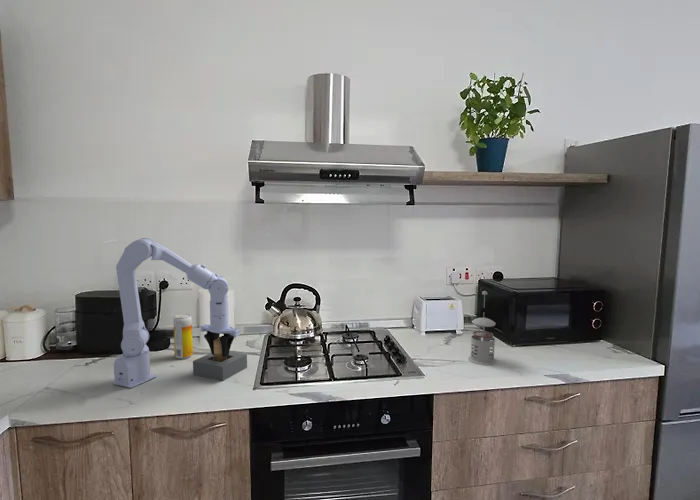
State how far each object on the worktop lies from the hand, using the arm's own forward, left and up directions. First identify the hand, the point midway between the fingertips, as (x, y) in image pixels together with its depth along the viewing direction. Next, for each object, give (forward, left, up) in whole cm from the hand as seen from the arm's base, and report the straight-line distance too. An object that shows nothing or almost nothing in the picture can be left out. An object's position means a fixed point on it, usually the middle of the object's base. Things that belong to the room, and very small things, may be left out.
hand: (220, 354), depth 134 cm
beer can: (+5, +21, -6) cm, 22 cm away
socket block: (0, 0, -5) cm, 5 cm away
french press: (+46, -78, -6) cm, 91 cm away
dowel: (0, 0, -3) cm, 3 cm away
